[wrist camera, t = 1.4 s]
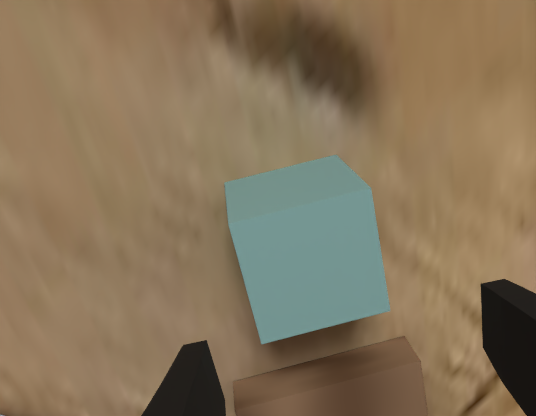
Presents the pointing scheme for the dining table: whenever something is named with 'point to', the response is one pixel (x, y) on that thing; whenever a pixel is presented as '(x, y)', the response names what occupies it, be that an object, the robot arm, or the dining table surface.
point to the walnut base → (340, 385)
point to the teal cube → (307, 247)
